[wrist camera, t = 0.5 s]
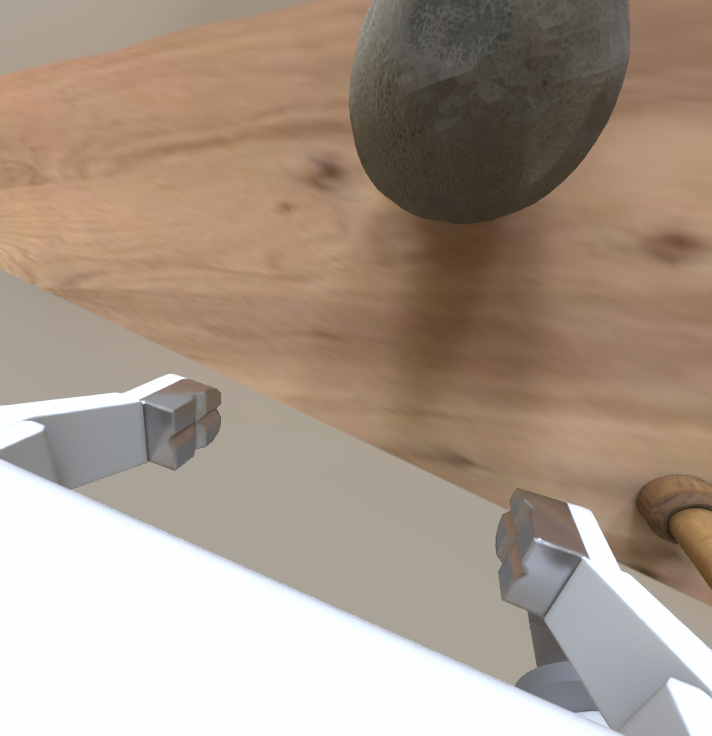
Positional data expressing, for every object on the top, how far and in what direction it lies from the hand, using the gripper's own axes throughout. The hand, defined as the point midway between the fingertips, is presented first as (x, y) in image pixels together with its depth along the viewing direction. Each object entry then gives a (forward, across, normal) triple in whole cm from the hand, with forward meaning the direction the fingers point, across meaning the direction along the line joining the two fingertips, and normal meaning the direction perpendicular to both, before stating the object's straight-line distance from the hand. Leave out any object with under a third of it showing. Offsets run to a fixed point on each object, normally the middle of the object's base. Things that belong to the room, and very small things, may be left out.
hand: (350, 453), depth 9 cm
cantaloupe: (+26, 0, +14) cm, 29 cm away
